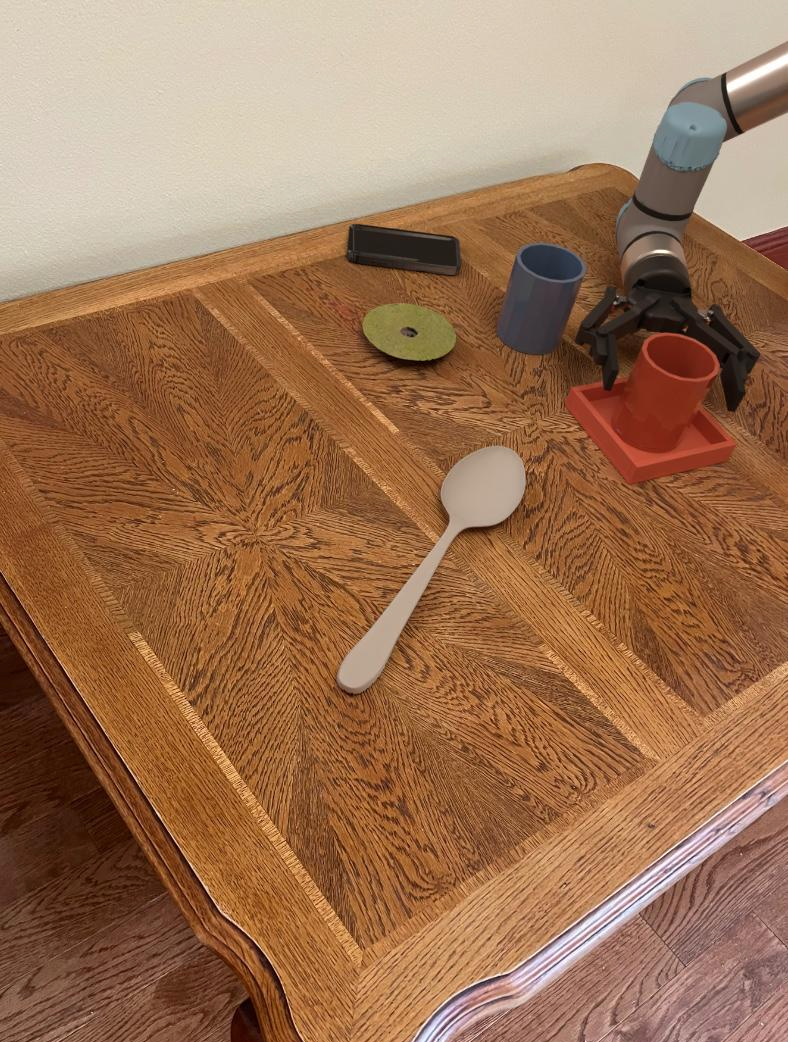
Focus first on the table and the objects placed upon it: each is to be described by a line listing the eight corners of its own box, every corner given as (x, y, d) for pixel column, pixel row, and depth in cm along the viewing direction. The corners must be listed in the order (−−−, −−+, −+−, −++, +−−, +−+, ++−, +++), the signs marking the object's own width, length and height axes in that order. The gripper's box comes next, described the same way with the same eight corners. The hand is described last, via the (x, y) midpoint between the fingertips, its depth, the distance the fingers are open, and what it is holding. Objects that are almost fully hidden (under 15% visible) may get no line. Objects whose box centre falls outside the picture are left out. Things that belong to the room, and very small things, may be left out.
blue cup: (572, 349, 116) (599, 277, 108) (516, 359, 113) (539, 286, 106) (539, 310, 120) (562, 239, 113) (484, 319, 118) (504, 246, 110)
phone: (349, 222, 126) (459, 236, 127) (348, 230, 127) (457, 244, 128) (347, 254, 121) (461, 268, 122) (346, 262, 122) (459, 276, 123)
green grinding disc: (358, 312, 116) (360, 298, 114) (447, 319, 117) (450, 305, 115) (363, 369, 109) (365, 355, 107) (458, 376, 110) (461, 362, 108)
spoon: (471, 450, 102) (475, 432, 100) (538, 479, 100) (544, 461, 98) (303, 680, 82) (305, 664, 80) (383, 723, 80) (386, 707, 78)
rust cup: (695, 445, 106) (735, 374, 98) (636, 459, 103) (672, 386, 96) (654, 400, 110) (688, 328, 103) (597, 411, 108) (627, 338, 100)
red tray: (727, 461, 106) (737, 444, 104) (628, 485, 101) (637, 467, 99) (658, 386, 113) (666, 368, 111) (564, 405, 109) (570, 387, 107)
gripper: (742, 325, 116) (772, 437, 103) (545, 291, 116) (548, 399, 103) (771, 271, 111) (806, 382, 97) (563, 235, 110) (569, 342, 97)
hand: (674, 391), depth 100 cm, fingers open, 13 cm apart
